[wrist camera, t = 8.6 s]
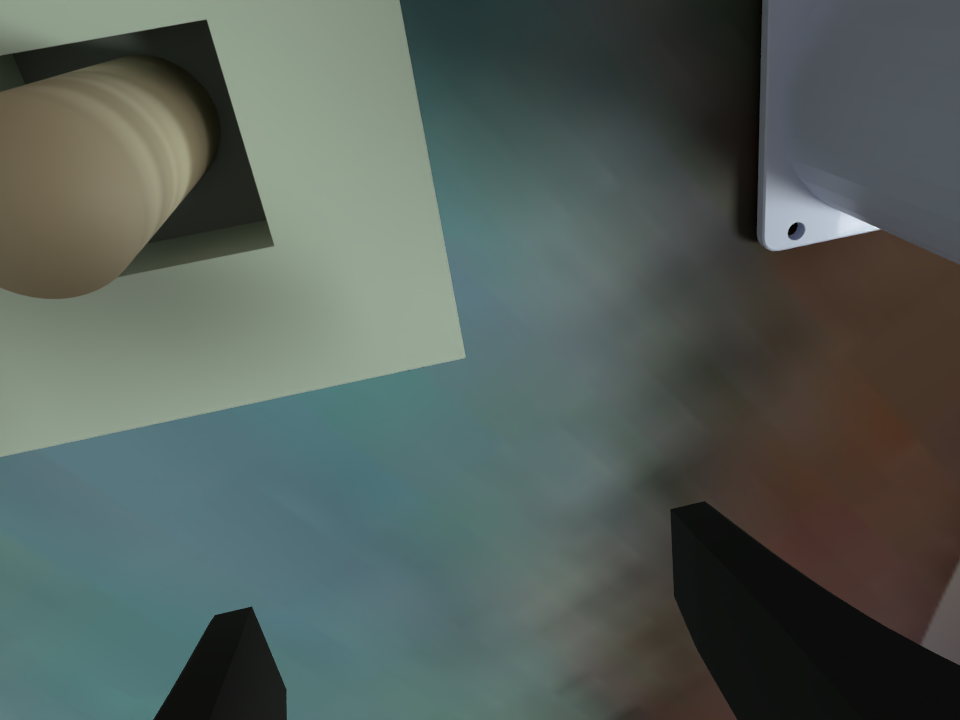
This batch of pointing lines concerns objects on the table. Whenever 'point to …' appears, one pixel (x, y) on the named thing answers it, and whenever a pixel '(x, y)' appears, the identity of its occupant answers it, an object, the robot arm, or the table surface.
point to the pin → (96, 170)
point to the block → (242, 222)
